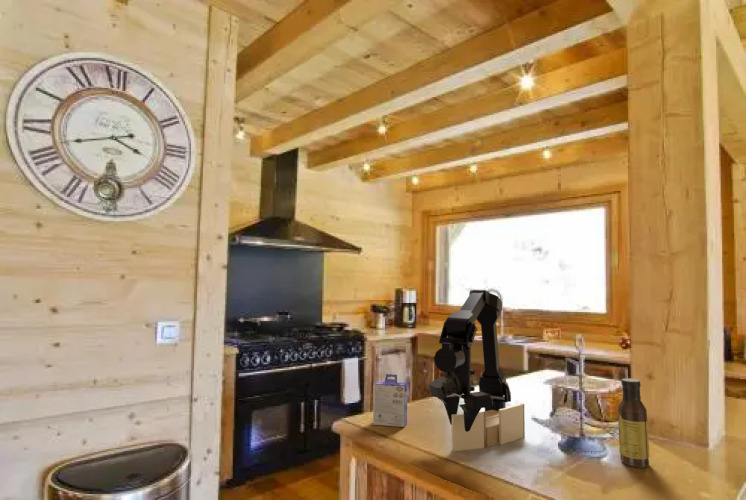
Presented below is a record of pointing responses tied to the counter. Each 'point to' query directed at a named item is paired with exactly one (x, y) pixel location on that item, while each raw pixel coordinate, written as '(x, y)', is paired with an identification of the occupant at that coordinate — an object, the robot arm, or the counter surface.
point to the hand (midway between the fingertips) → (459, 427)
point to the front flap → (468, 433)
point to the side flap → (511, 423)
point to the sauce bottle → (633, 426)
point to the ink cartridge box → (390, 402)
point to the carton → (492, 427)
